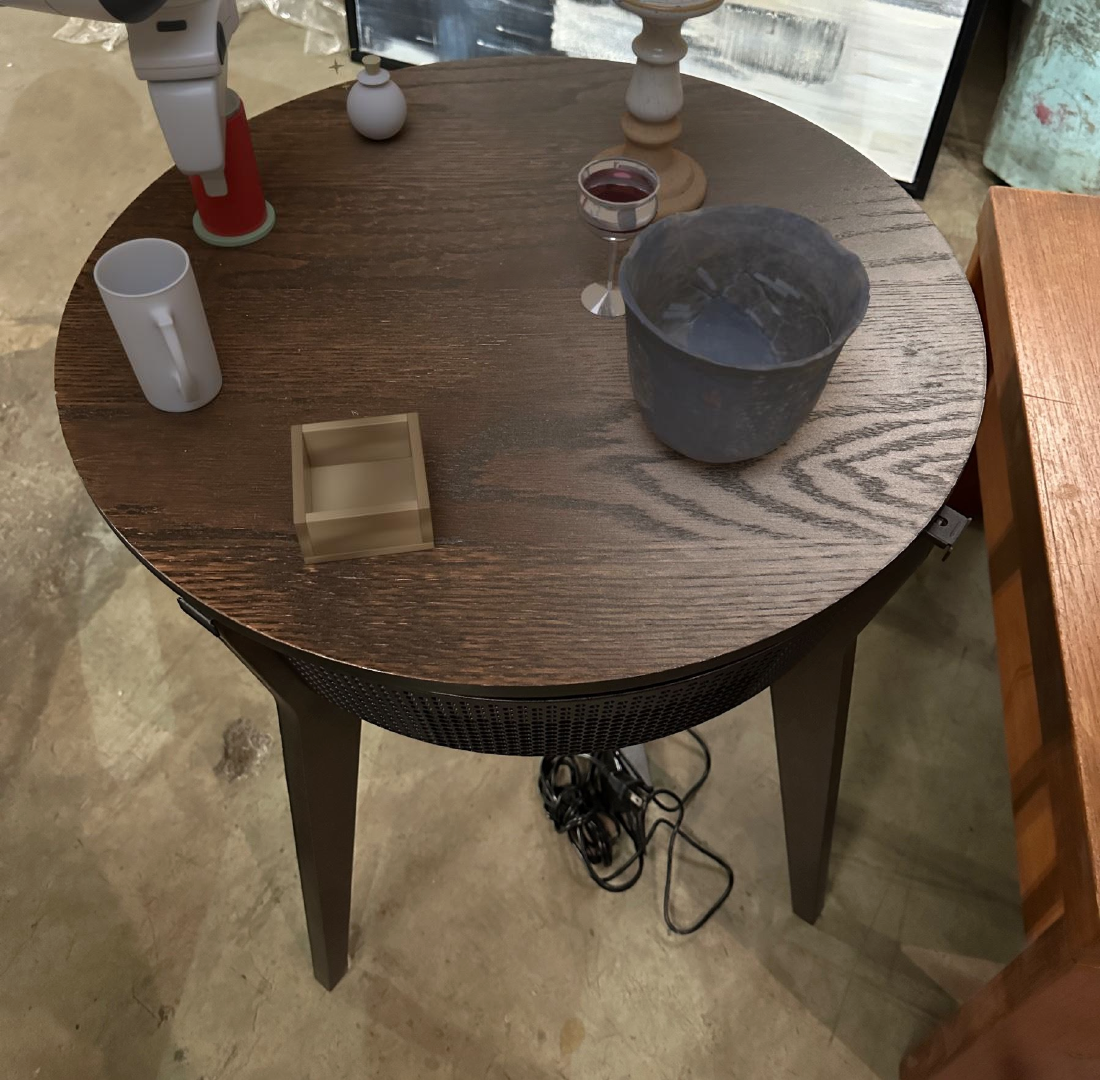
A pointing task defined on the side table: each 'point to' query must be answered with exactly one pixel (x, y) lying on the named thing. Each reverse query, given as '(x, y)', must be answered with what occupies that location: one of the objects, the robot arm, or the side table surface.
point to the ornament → (375, 101)
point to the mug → (160, 322)
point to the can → (234, 181)
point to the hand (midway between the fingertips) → (219, 161)
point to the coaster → (236, 240)
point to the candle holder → (661, 102)
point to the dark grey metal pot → (736, 325)
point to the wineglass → (615, 217)
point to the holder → (360, 488)
